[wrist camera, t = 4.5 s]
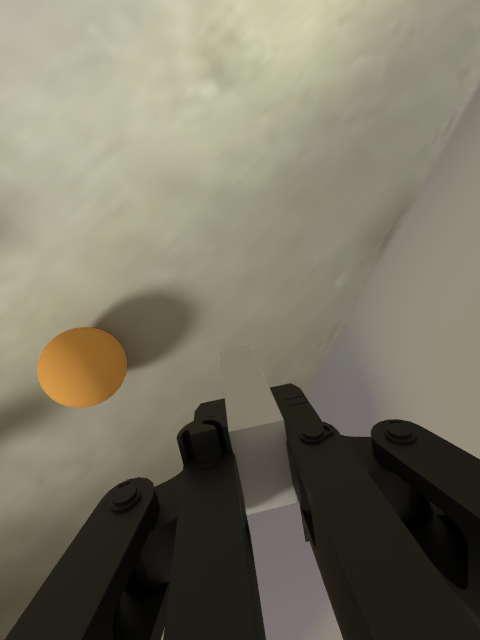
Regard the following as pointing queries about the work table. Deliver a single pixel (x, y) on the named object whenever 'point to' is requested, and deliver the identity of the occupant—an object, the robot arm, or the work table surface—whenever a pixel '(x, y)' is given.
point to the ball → (82, 367)
